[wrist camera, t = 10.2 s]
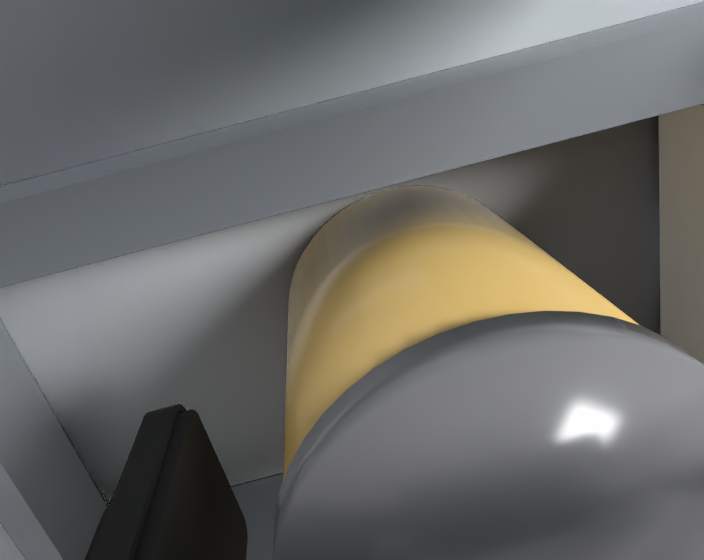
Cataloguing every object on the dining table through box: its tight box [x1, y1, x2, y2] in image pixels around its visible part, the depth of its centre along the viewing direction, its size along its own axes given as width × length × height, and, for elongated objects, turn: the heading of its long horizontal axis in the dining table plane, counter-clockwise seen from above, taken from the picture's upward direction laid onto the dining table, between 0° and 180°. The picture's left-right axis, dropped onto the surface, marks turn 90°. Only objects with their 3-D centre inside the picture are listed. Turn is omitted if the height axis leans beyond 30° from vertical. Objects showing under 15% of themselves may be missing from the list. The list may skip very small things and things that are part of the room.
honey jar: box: [273, 186, 704, 560], centre depth 10 cm, size 7×7×8 cm
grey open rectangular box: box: [0, 2, 704, 560], centre depth 11 cm, size 11×20×6 cm, turn 104°
